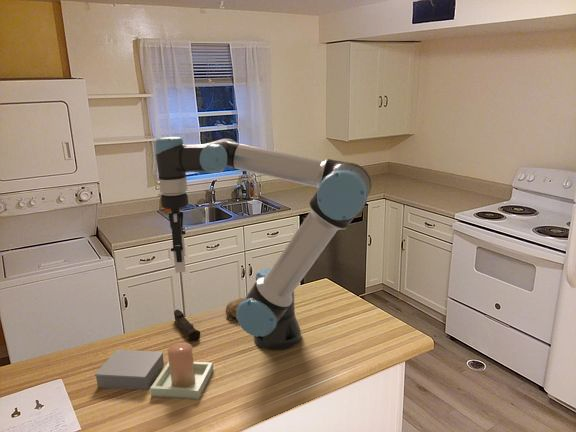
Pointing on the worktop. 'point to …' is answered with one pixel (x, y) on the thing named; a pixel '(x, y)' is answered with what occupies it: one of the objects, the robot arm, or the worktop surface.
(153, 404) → the worktop surface
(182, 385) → the terracotta domed cylinder
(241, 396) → the worktop surface
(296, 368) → the worktop surface
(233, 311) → the bread roll
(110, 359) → the grey square plinth
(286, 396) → the worktop surface
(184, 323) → the hand tool
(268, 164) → the robot arm
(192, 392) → the tray
